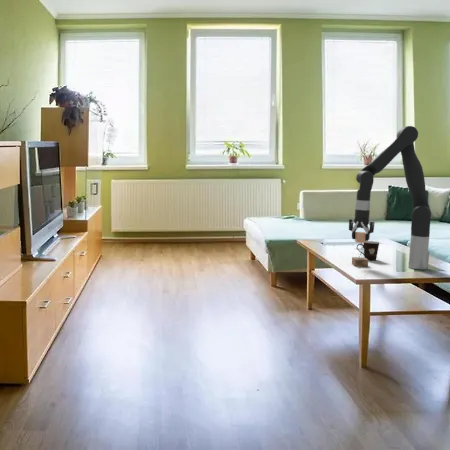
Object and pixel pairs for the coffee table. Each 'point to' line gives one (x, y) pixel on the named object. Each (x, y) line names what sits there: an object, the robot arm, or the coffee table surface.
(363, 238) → the terracotta cube
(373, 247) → the coffee mug
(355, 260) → the walnut box
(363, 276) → the coffee table surface
